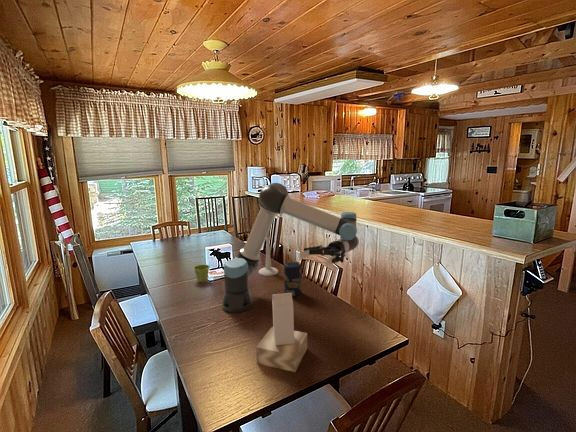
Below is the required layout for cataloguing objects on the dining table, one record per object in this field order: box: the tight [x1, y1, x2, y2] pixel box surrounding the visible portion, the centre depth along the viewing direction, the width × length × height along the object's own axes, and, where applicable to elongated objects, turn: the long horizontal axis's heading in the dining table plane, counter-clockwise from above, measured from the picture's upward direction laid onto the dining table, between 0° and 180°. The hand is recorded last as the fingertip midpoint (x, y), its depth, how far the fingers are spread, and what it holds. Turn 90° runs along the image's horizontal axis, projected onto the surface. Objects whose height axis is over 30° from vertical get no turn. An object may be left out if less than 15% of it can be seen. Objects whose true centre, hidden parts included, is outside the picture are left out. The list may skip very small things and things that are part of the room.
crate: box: [255, 326, 308, 373], centre depth 121 cm, size 15×15×7 cm
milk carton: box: [271, 292, 295, 345], centre depth 118 cm, size 7×7×19 cm
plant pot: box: [193, 264, 211, 283], centre depth 193 cm, size 9×9×9 cm
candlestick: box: [258, 231, 279, 277], centre depth 205 cm, size 13×13×30 cm
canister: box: [283, 261, 303, 297], centre depth 174 cm, size 10×10×18 cm
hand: (312, 259), depth 135 cm, fingers open, 13 cm apart
